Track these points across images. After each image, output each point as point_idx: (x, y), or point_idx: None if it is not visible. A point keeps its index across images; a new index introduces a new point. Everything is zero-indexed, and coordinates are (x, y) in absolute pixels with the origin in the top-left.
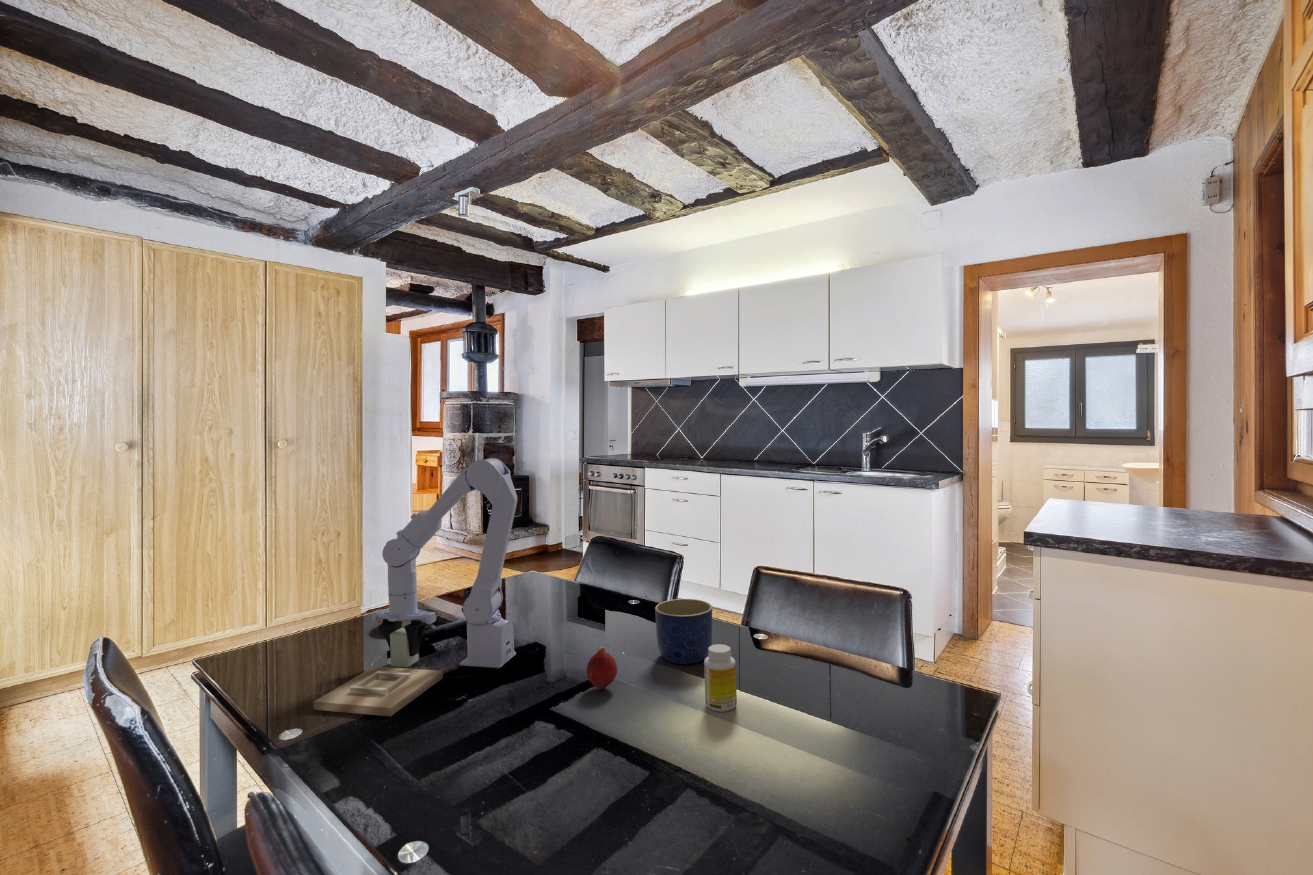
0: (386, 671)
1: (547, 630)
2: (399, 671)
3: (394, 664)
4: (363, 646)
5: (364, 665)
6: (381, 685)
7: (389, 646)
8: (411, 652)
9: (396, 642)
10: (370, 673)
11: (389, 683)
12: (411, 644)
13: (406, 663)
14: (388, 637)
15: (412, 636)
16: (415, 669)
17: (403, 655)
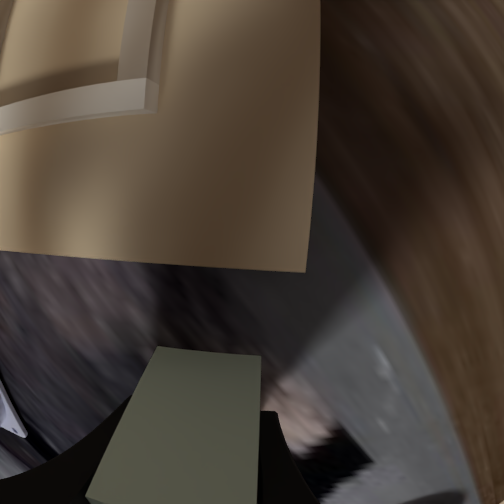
0: (145, 194)
1: None
2: (67, 207)
3: (237, 360)
4: (466, 456)
5: (414, 344)
6: (61, 17)
7: (279, 448)
8: (120, 406)
9: (196, 464)
10: (243, 144)
11: (34, 51)
12: (89, 437)
13: (157, 358)
14: (278, 502)
15: (43, 468)
16: (16, 246)
17: (161, 390)
